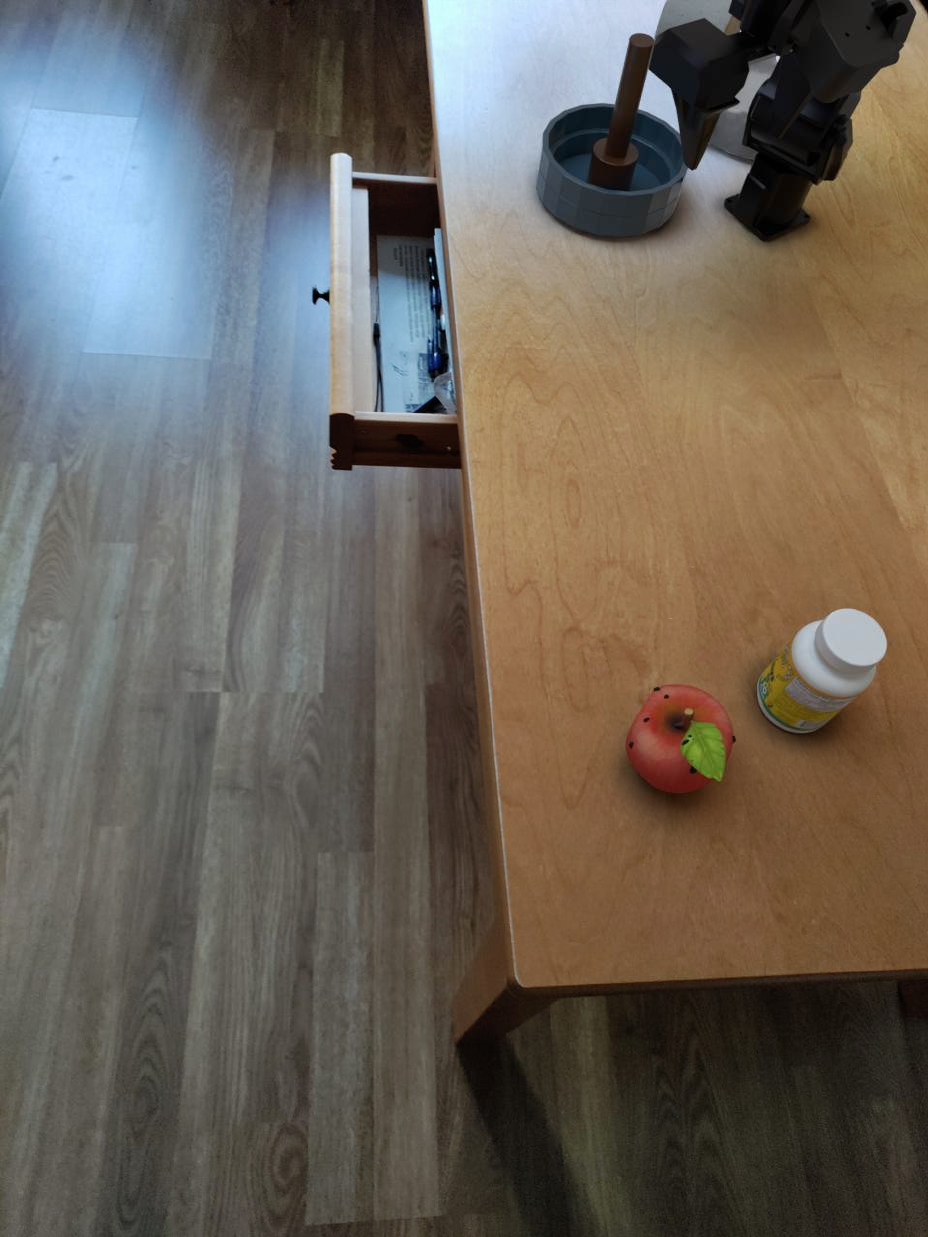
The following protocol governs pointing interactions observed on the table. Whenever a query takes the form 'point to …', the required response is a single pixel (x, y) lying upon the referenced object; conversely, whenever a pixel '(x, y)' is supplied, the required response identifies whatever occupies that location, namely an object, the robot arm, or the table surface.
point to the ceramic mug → (698, 14)
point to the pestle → (622, 121)
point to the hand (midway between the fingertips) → (733, 151)
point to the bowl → (596, 206)
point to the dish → (741, 112)
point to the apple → (680, 739)
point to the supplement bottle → (821, 670)
